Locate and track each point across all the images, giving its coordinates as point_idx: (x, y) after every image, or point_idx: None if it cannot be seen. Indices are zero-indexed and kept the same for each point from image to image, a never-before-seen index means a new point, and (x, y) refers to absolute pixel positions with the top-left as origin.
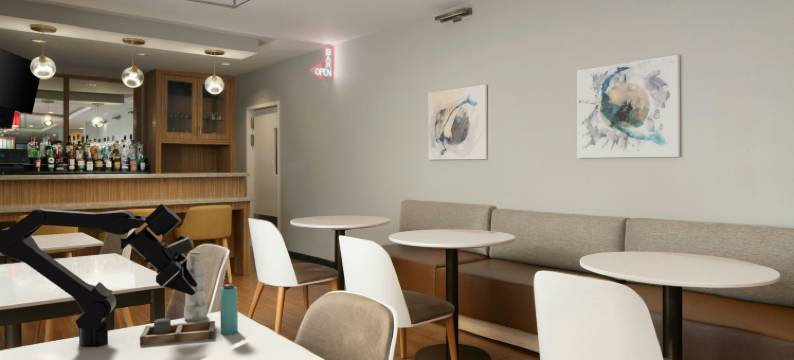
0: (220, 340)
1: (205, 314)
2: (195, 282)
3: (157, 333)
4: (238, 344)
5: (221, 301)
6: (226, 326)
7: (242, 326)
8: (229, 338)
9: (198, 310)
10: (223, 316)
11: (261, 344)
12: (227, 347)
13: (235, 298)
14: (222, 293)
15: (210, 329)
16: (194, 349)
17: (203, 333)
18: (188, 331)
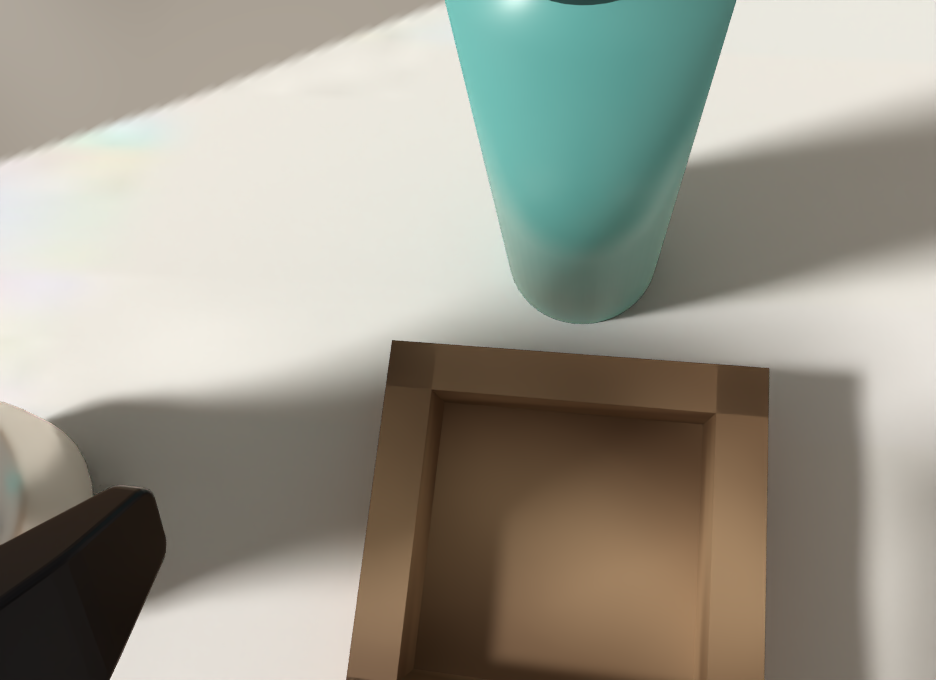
0: (690, 331)
1: (43, 422)
2: (105, 531)
3: None
4: (856, 192)
5: (650, 155)
6: (663, 237)
7: (355, 140)
8: None
9: (27, 489)
10: (659, 222)
11: (910, 23)
12: (916, 283)
13: None
14: (687, 63)
15: (689, 396)
16: (895, 573)
17: (763, 473)
18: (418, 611)
